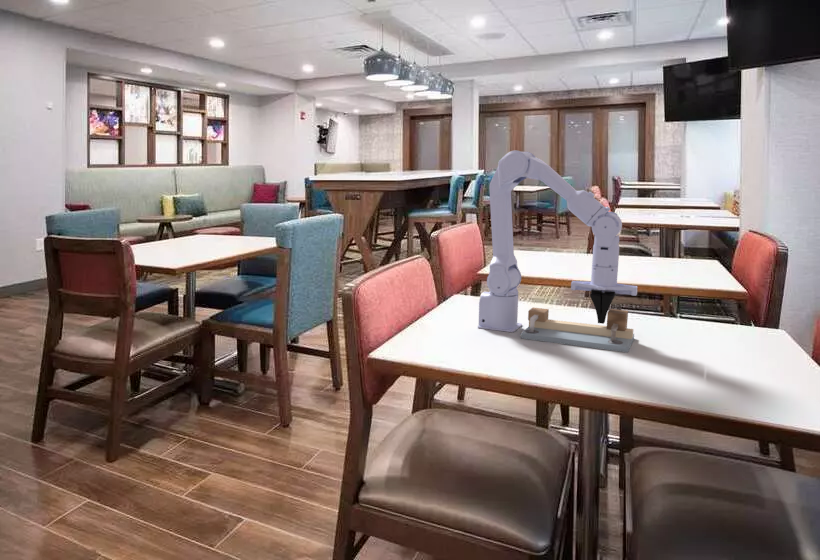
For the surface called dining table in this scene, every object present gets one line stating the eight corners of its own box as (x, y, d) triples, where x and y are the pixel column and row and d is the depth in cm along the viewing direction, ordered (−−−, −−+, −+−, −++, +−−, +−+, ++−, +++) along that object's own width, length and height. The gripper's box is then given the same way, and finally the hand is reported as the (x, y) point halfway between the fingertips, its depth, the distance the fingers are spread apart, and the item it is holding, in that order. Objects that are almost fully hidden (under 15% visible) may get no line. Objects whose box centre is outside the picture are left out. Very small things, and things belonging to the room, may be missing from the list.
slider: (603, 340, 129) (604, 316, 128) (608, 331, 136) (610, 308, 135) (622, 342, 127) (623, 318, 126) (626, 333, 134) (628, 310, 133)
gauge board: (520, 338, 136) (521, 316, 135) (534, 326, 146) (534, 305, 145) (627, 352, 125) (629, 328, 124) (633, 338, 136) (635, 316, 135)
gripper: (569, 265, 132) (566, 322, 134) (636, 270, 125) (632, 330, 128) (575, 261, 138) (572, 316, 140) (639, 265, 131) (635, 322, 134)
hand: (601, 322), depth 134 cm, fingers closed
